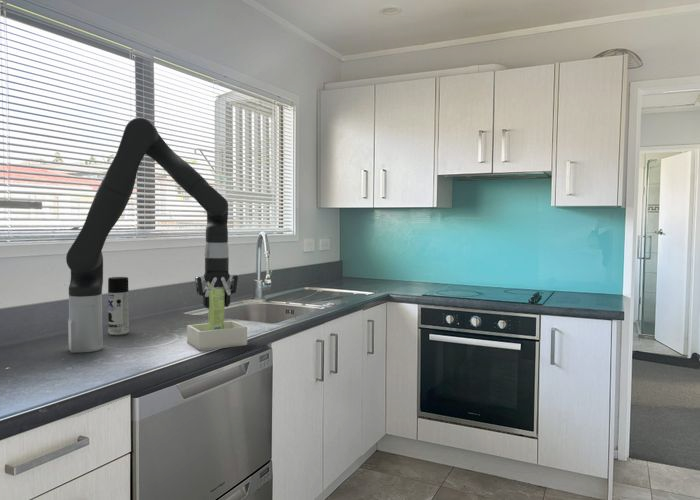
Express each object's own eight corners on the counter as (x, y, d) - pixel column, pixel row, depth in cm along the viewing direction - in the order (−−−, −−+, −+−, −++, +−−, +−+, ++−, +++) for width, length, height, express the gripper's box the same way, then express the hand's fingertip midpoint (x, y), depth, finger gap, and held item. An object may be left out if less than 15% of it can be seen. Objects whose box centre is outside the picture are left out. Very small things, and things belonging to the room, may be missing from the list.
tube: (210, 337, 177) (210, 279, 176) (225, 337, 178) (225, 279, 176) (207, 341, 171) (207, 281, 170) (223, 341, 172) (223, 281, 171)
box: (199, 351, 165) (199, 332, 165) (187, 343, 175) (187, 325, 175) (247, 344, 174) (247, 326, 174) (233, 337, 184) (233, 320, 184)
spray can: (105, 333, 188) (104, 277, 187) (124, 330, 193) (123, 276, 192) (113, 336, 184) (112, 279, 182) (132, 333, 188) (131, 277, 187)
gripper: (198, 257, 166) (198, 310, 167) (242, 256, 174) (241, 307, 175) (191, 256, 172) (191, 307, 173) (233, 255, 180) (233, 304, 181)
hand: (216, 307), depth 174 cm, fingers closed on tube, 6 cm apart
